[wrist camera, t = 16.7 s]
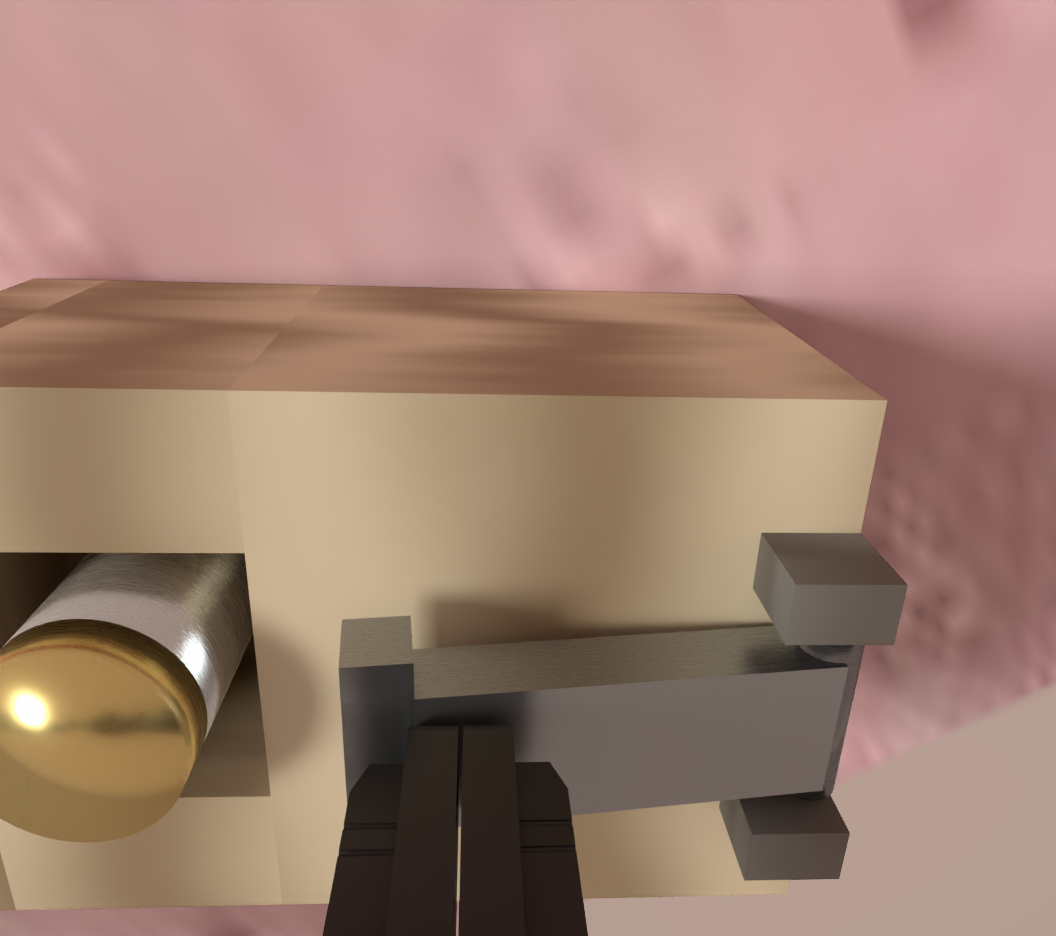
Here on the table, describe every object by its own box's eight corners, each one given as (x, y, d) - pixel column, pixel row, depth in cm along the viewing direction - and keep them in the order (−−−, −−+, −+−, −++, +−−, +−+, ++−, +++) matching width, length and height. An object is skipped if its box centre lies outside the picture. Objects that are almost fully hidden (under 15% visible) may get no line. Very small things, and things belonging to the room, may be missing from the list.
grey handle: (353, 808, 14) (351, 867, 13) (342, 619, 12) (337, 668, 11) (811, 764, 15) (844, 816, 14) (846, 589, 14) (886, 630, 13)
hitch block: (104, 654, 23) (-134, 996, 14) (33, 278, 19) (-356, 422, 10) (691, 652, 24) (817, 971, 15) (737, 294, 20) (941, 438, 11)
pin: (180, 551, 22) (-25, 844, 13) (161, 426, 21) (-82, 659, 12) (314, 550, 22) (201, 840, 13) (303, 427, 21) (170, 656, 12)
